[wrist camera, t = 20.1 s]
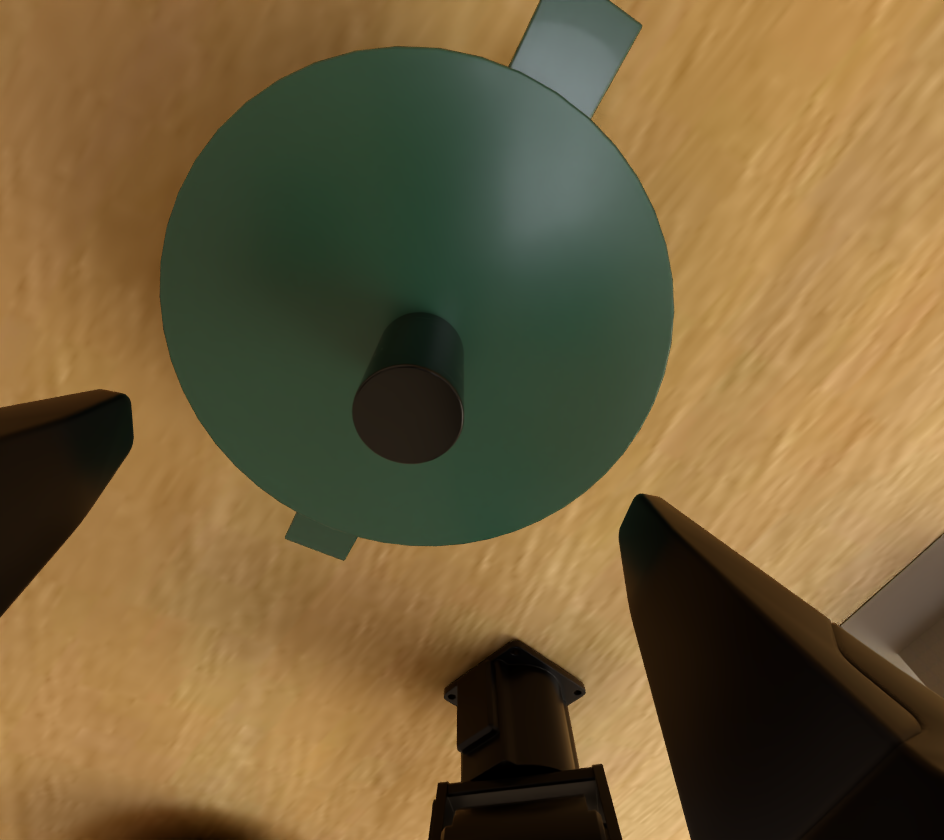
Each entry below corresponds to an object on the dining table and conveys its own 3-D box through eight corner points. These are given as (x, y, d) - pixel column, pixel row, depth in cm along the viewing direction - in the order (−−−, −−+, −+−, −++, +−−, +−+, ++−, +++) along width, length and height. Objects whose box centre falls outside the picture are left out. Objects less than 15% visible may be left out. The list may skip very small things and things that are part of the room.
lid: (765, 239, 14) (906, 278, 10) (508, 576, 20) (522, 701, 15) (269, -90, 11) (133, -265, 6) (131, 427, 17) (7, 529, 12)
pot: (714, 152, 18) (829, 150, 13) (468, 519, 26) (470, 623, 20) (372, -88, 15) (318, -235, 10) (205, 408, 23) (118, 493, 17)
